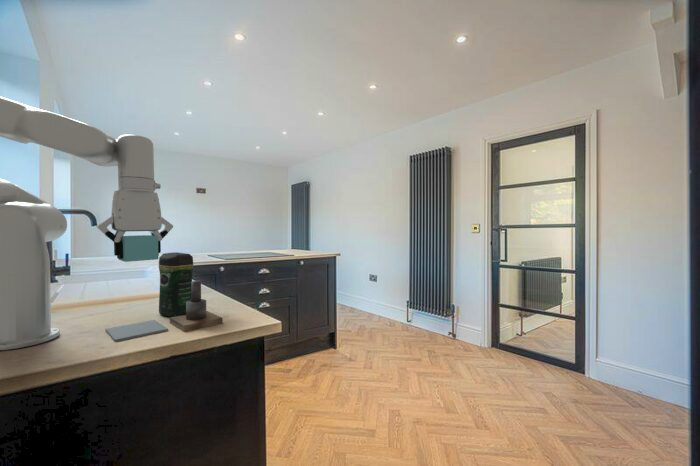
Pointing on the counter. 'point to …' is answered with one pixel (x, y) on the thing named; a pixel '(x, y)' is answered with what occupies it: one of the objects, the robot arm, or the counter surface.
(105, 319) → the counter surface
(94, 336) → the counter surface
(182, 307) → the coffee jar
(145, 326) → the mat
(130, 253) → the teal boxy piece
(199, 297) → the peg stand
